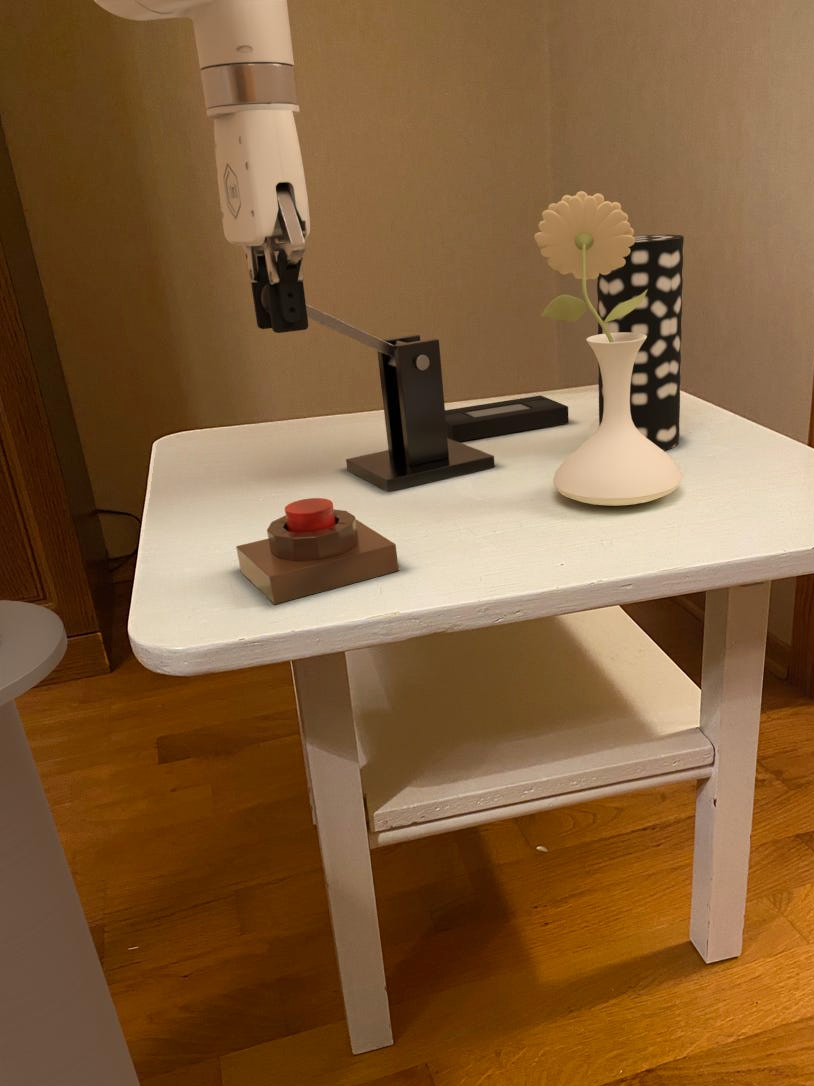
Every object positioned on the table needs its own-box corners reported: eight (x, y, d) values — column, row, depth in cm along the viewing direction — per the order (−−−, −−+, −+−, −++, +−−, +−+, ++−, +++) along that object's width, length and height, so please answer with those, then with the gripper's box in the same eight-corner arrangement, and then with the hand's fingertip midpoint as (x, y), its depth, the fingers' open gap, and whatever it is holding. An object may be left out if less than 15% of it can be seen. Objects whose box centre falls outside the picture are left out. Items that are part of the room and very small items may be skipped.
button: (298, 539, 71) (294, 516, 70) (281, 526, 74) (277, 504, 73) (343, 528, 72) (340, 506, 71) (325, 516, 75) (322, 494, 74)
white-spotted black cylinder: (598, 455, 98) (594, 245, 89) (600, 434, 106) (597, 238, 97) (680, 452, 97) (685, 239, 88) (677, 431, 104) (681, 232, 96)
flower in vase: (701, 484, 87) (711, 181, 76) (651, 524, 79) (654, 189, 68) (573, 471, 94) (565, 189, 83) (514, 506, 85) (497, 198, 74)
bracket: (387, 492, 92) (372, 355, 86) (346, 470, 100) (329, 343, 94) (495, 467, 97) (486, 336, 91) (448, 448, 105) (437, 326, 99)
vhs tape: (430, 429, 113) (429, 412, 112) (541, 411, 117) (540, 395, 116) (453, 443, 106) (451, 425, 106) (568, 423, 111) (568, 406, 110)
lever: (262, 309, 83) (275, 273, 83) (251, 306, 86) (263, 272, 85) (422, 382, 93) (434, 350, 93) (407, 377, 96) (419, 347, 95)
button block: (274, 604, 69) (265, 553, 67) (240, 572, 75) (231, 524, 74) (399, 571, 73) (393, 521, 72) (357, 542, 80) (351, 496, 78)
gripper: (179, 106, 83) (215, 326, 91) (237, 84, 70) (274, 343, 78) (262, 105, 87) (290, 317, 94) (332, 83, 74) (358, 332, 81)
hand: (282, 326), depth 86 cm, fingers closed on lever, 3 cm apart
